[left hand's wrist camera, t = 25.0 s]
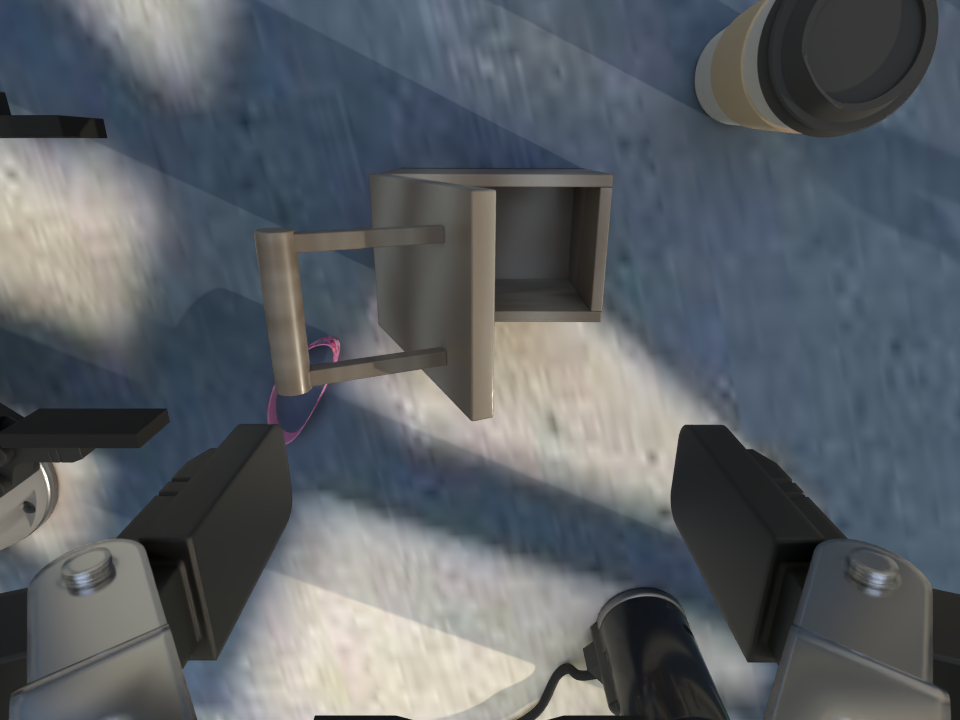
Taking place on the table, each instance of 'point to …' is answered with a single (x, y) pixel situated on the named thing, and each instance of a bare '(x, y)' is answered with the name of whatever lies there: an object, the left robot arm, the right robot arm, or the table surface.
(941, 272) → the table surface
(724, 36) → the coffee cup
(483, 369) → the lid
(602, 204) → the chest
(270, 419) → the headband
